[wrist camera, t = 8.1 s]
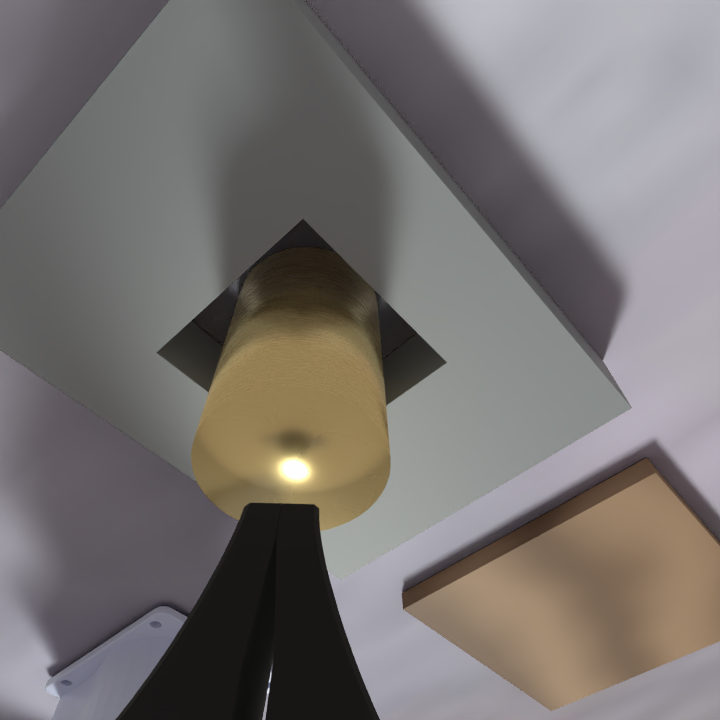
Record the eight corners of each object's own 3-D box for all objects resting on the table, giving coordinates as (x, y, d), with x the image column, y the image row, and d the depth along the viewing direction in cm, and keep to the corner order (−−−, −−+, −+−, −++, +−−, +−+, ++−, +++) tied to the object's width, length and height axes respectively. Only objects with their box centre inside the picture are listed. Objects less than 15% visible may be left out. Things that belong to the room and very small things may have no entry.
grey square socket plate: (342, 527, 25) (341, 579, 23) (-26, 260, 18) (-74, 300, 16) (603, 361, 21) (631, 407, 19) (247, -71, 14) (228, -74, 12)
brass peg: (375, 369, 21) (385, 533, 15) (244, 368, 21) (202, 533, 15) (381, 248, 18) (396, 388, 12) (232, 245, 18) (177, 385, 12)
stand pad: (547, 695, 33) (551, 711, 32) (401, 593, 27) (403, 609, 27) (770, 600, 28) (780, 615, 28) (646, 457, 23) (655, 472, 22)
